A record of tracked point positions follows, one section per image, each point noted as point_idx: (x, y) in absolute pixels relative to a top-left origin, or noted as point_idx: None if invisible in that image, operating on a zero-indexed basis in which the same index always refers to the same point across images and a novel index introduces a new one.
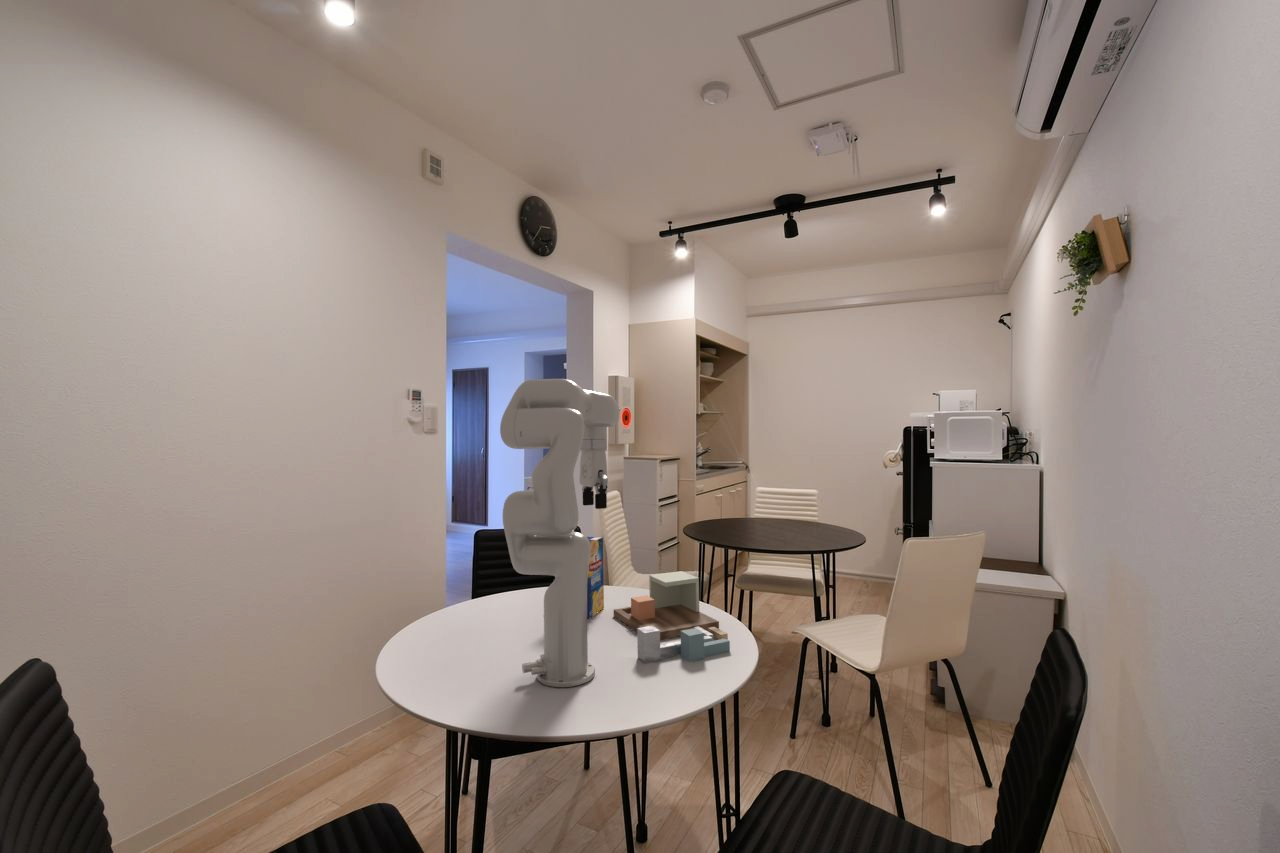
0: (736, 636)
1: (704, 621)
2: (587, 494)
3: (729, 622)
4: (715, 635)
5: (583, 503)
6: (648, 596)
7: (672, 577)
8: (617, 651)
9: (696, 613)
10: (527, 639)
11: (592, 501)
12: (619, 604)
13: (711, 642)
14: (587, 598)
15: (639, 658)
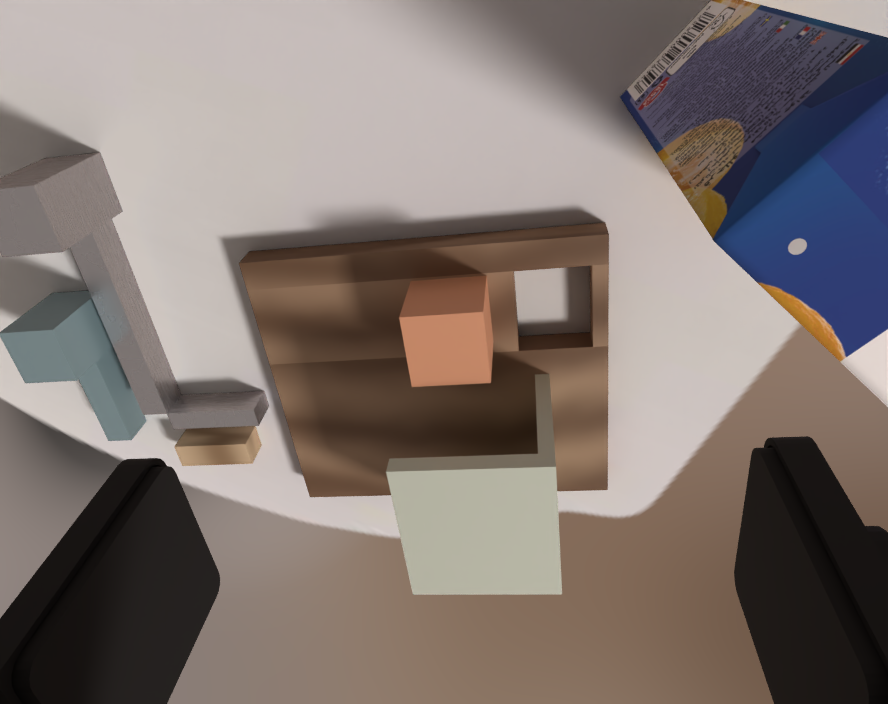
0: (239, 487)
1: (321, 464)
2: (822, 688)
3: (364, 527)
4: (208, 438)
5: (780, 456)
6: (470, 383)
7: (464, 526)
8: (174, 100)
9: None
10: None
11: (750, 614)
12: (764, 302)
13: (101, 394)
14: (639, 116)
15: (85, 154)
